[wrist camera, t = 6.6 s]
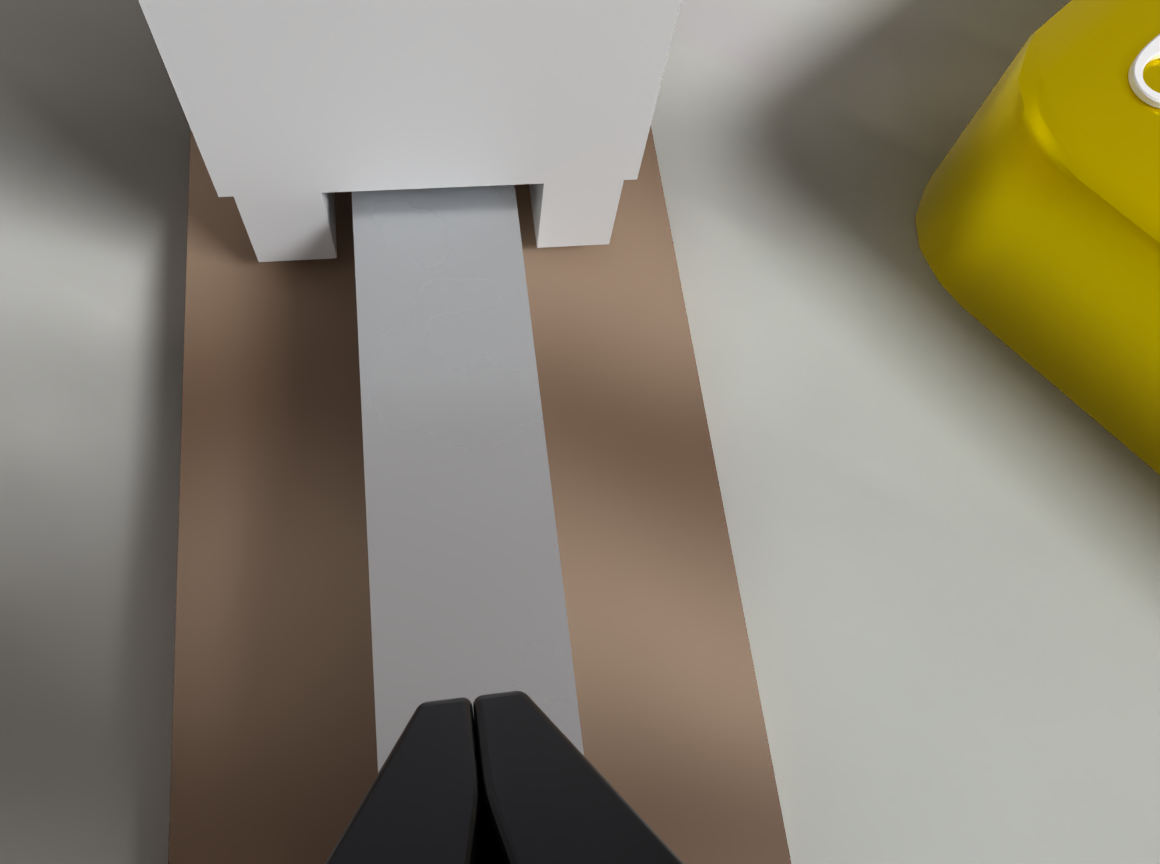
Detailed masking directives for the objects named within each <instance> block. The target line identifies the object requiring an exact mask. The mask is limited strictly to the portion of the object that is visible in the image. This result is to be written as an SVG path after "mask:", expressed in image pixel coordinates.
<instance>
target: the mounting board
mask: <svg viewBox="0 0 1160 864" xmlns="http://www.w3.org/2000/svg"><path fill="white" fill-rule="evenodd" d="M515 192H516V201H517V209H518V217H519V225H520V233H521V242H522V250H523V258H524V266H525V274H526V283H527V291H528V299H529V307H530V316H531V324H532V332H533V340H534V348H535V357H536V365H537V373H538V381H539V389H540V398H541V406H542V414H543V422H544V431H545V439H546V447H547V455H548V463H549V472H550V480H551V488H552V496H553V504H554V513H555V521H556V529H557V537H558V546H559V554H560V562H561V570H562V578H563V587H564V595H565V603H566V611H567V619H568V628H569V636H570V644H571V652H572V661H573V669H574V677H575V685H576V693H577V702H578V710H579V718H580V726H581V734H582V743H583V751H584V756H585V758H586V759H587V760H588V761H589V762H590V763H591V764H592V765H593V766H594V767H595V768H596V769H597V770H598V772H599V773H600V774H601V775H602V776H603V777H604V778H605V779H606V780H607V781H608V782H609V783H610V784H611V786H612V787H613V788H614V789H615V790H616V791H617V792H618V793H619V794H620V795H621V796H622V797H623V798H624V800H625V801H626V802H627V803H628V804H629V805H630V806H631V807H632V808H633V809H634V810H635V811H636V812H637V814H638V815H639V816H640V817H641V818H642V819H643V820H644V821H645V822H646V823H647V824H648V825H649V826H650V828H651V829H652V830H653V831H654V832H655V833H656V834H657V835H658V836H659V837H660V838H661V839H662V840H663V842H664V843H665V844H666V845H667V846H668V847H669V848H670V849H671V850H672V851H673V852H674V853H675V854H676V856H677V857H678V858H679V859H680V860H681V861H682V862H683V863H684V864H791V860H790V854H789V849H788V844H787V839H786V833H785V828H784V823H783V818H782V812H781V807H780V802H779V797H778V791H777V786H776V781H775V776H774V770H773V765H772V760H771V755H770V749H769V744H768V739H767V734H766V728H765V723H764V718H763V713H762V707H761V702H760V697H759V692H758V686H757V681H756V676H755V671H754V665H753V660H752V655H751V650H750V644H749V639H748V634H747V629H746V624H745V618H744V613H743V608H742V603H741V597H740V592H739V587H738V582H737V576H736V571H735V566H734V561H733V555H732V550H731V545H730V540H729V534H728V529H727V524H726V519H725V513H724V508H723V503H722V498H721V492H720V487H719V482H718V477H717V471H716V466H715V461H714V456H713V450H712V445H711V440H710V435H709V429H708V424H707V419H706V414H705V408H704V403H703V398H702V393H701V387H700V382H699V377H698V372H697V366H696V361H695V356H694V351H693V345H692V340H691V335H690V330H689V324H688V319H687V314H686V309H685V303H684V298H683V293H682V288H681V282H680V277H679V272H678V267H677V261H676V256H675V251H674V246H673V240H672V235H671V230H670V225H669V219H668V214H667V209H666V204H665V198H664V193H663V188H662V183H661V177H660V172H659V167H658V162H657V156H656V151H655V146H654V141H653V135H652V130H651V126H650V130H649V134H648V138H647V142H646V146H645V150H644V154H643V158H642V162H641V166H640V170H639V174H638V178H637V180H624V182H623V186H622V191H621V195H620V199H619V204H618V208H617V212H616V217H615V221H614V225H613V230H612V234H611V238H610V243H609V244H603V245H584V246H564V247H545V248H537V244H536V236H535V228H534V220H533V213H532V205H531V197H530V189H529V184H519V185H515ZM334 194H335V221H336V247H337V258H332V259H312V260H293V261H273V262H258V259H257V256H256V254H255V251H254V249H253V246H252V243H251V241H250V238H249V236H248V233H247V230H246V228H245V225H244V223H243V220H242V217H241V215H240V212H239V210H238V207H237V204H236V202H235V199H234V197H218V194H217V192H216V189H215V187H214V185H213V182H212V180H211V177H210V175H209V172H208V170H207V167H206V165H205V162H204V160H203V158H202V155H201V153H200V150H199V148H198V145H197V143H196V140H195V138H194V136H193V133H192V131H191V130H190V163H189V196H188V229H187V262H186V295H185V328H184V361H183V394H182V427H181V460H180V493H179V526H178V559H177V592H176V625H175V658H174V691H173V724H172V757H171V790H170V823H169V856H168V864H325V862H326V861H327V859H328V857H329V856H330V854H331V852H332V850H333V849H334V847H335V845H336V844H337V842H338V840H339V839H340V837H341V835H342V834H343V832H344V830H345V828H346V827H347V825H348V823H349V822H350V820H351V818H352V817H353V815H354V813H355V812H356V810H357V808H358V807H359V805H360V803H361V801H362V800H363V798H364V796H365V795H366V793H367V791H368V790H369V788H370V786H371V785H372V783H373V781H374V779H375V778H376V776H377V774H378V762H377V740H376V718H375V696H374V674H373V652H372V630H371V608H370V586H369V564H368V542H367V520H366V498H365V476H364V454H363V432H362V410H361V388H360V366H359V344H358V322H357V300H356V278H355V256H354V234H353V212H352V192H334Z"/></svg>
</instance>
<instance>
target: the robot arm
mask: <svg viewBox="0 0 1160 864" xmlns="http://www.w3.org/2000/svg"><path fill="white" fill-rule="evenodd" d="M473 714H474V716H473ZM325 864H684V863H683V862H682V861H681V860H680V859H679V858H678V857H677V856H676V854H675V853H674V852H673V851H672V850H671V849H670V848H669V847H668V846H667V845H666V844H665V843H664V842H663V840H662V839H661V838H660V837H659V836H658V835H657V834H656V833H655V832H654V831H653V830H652V829H651V828H650V826H649V825H648V824H647V823H646V822H645V821H644V820H643V819H642V818H641V817H640V816H639V815H638V814H637V812H636V811H635V810H634V809H633V808H632V807H631V806H630V805H629V804H628V803H627V802H626V801H625V800H624V798H623V797H622V796H621V795H620V794H619V793H618V792H617V791H616V790H615V789H614V788H613V787H612V786H611V784H610V783H609V782H608V781H607V780H606V779H605V778H604V777H603V776H602V775H601V774H600V773H599V772H598V770H597V769H596V768H595V767H594V766H593V765H592V764H591V763H590V762H589V761H588V760H587V759H586V758H585V756H584V755H583V754H582V753H581V752H580V751H579V750H578V749H577V748H576V747H575V746H574V745H573V744H572V742H571V741H570V740H569V739H568V738H567V737H566V736H565V735H564V734H563V733H562V732H561V731H560V730H559V728H558V727H557V726H556V725H555V724H554V723H553V722H552V721H551V720H550V719H549V718H548V717H547V716H546V714H545V713H544V712H543V711H542V710H541V709H540V708H539V707H538V706H537V705H536V704H535V703H534V702H533V700H532V699H531V698H530V697H529V696H528V695H527V694H526V693H524V692H522V691H510V692H501V693H493V694H485V695H480V696H478V697H477V698H475V700H474V702H473V707H472V703H471V701H470V700H469V699H467V698H465V697H460V698H452V699H444V700H435V701H427V702H424V703H422V704H420V705H419V706H418V707H417V709H416V710H415V712H414V714H413V715H412V717H411V719H410V720H409V722H408V724H407V725H406V727H405V729H404V731H403V732H402V734H401V736H400V737H399V739H398V741H397V742H396V744H395V746H394V747H393V749H392V751H391V752H390V754H389V756H388V758H387V759H386V761H385V763H384V764H383V766H382V768H381V769H380V771H379V773H378V774H377V776H376V778H375V779H374V781H373V783H372V785H371V786H370V788H369V790H368V791H367V793H366V795H365V796H364V798H363V800H362V801H361V803H360V805H359V807H358V808H357V810H356V812H355V813H354V815H353V817H352V818H351V820H350V822H349V823H348V825H347V827H346V828H345V830H344V832H343V834H342V835H341V837H340V839H339V840H338V842H337V844H336V845H335V847H334V849H333V850H332V852H331V854H330V856H329V857H328V859H327V861H326V862H325Z"/></svg>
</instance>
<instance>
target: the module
mask: <svg viewBox="0 0 1160 864" xmlns="http://www.w3.org/2000/svg"><path fill="white" fill-rule="evenodd" d="M138 1H139V3H140V6H141V8H142V11H143V13H144V16H145V18H146V20H147V23H148V25H149V28H150V30H151V33H152V35H153V38H154V40H155V43H156V45H157V47H158V50H159V52H160V55H161V57H162V60H163V62H164V65H165V67H166V69H167V72H168V74H169V77H170V79H171V82H172V84H173V87H174V89H175V91H176V94H177V96H178V99H179V101H180V104H181V106H182V109H183V111H184V114H185V116H186V118H187V121H188V123H189V126H190V128H191V131H192V133H193V136H194V138H195V140H196V143H197V145H198V148H199V150H200V153H201V155H202V158H203V160H204V162H205V165H206V167H207V170H208V172H209V175H210V177H211V180H212V182H213V185H214V187H215V189H216V192H217V194H218V197H234V199H235V202H236V204H237V207H238V210H239V212H240V215H241V217H242V220H243V223H244V225H245V228H246V230H247V233H248V236H249V238H250V241H251V243H252V246H253V249H254V251H255V254H256V256H257V259H258V262H273V261H293V260H312V259H332V258H337V247H336V221H335V194H334V192H352V191H376V190H400V189H424V188H448V187H471V186H495V185H519V184H529V189H530V197H531V205H532V213H533V220H534V228H535V236H536V244H537V248H545V247H564V246H584V245H603V244H609V243H610V238H611V234H612V230H613V225H614V221H615V217H616V212H617V208H618V204H619V199H620V195H621V191H622V186H623V182H624V180H637V178H638V174H639V170H640V166H641V162H642V158H643V154H644V150H645V146H646V142H647V138H648V134H649V130H650V126H651V122H652V118H653V114H654V110H655V106H656V102H657V98H658V94H659V90H660V86H661V82H662V78H663V74H664V70H665V66H666V62H667V58H668V54H669V50H670V46H671V42H672V38H673V34H674V30H675V26H676V22H677V18H678V14H679V10H680V6H681V2H682V0H138Z"/></svg>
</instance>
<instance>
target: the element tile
mask: <svg viewBox="0 0 1160 864" xmlns="http://www.w3.org/2000/svg"><path fill="white" fill-rule="evenodd" d="M915 220H916V227H917V233H918V240H919V247H920V250H921V252H922V254H923V255H924V257H925V259H926V260H927V262H928V264H929V266H930V267H931V269H932V271H933V272H934V274H935V276H936V278H937V279H938V281H939V282H940V284H941V285H942V286H943V287H944V288H945V289H946V290H947V291H948V292H949V293H950V295H951V296H952V297H953V298H954V299H955V300H956V301H957V302H958V303H959V305H960V306H962V307H963V308H964V309H965V310H966V311H967V312H969V313H970V314H971V315H972V316H973V317H974V318H976V319H977V320H978V321H979V322H980V323H982V324H983V325H984V326H985V327H986V328H987V329H989V330H990V331H991V332H992V333H993V334H994V335H996V336H997V337H998V338H999V339H1000V340H1002V341H1003V342H1004V343H1005V344H1006V345H1007V346H1009V347H1010V348H1011V349H1012V350H1013V351H1014V352H1016V353H1017V354H1018V355H1019V356H1020V357H1022V358H1023V359H1024V360H1025V361H1026V362H1027V363H1029V364H1030V365H1031V366H1032V367H1033V368H1034V369H1036V370H1037V371H1038V372H1039V373H1040V374H1042V375H1043V376H1044V377H1045V378H1046V379H1047V380H1049V381H1050V382H1051V383H1052V384H1053V385H1055V386H1056V387H1057V388H1058V389H1059V390H1060V391H1062V392H1063V393H1064V394H1065V395H1066V396H1067V397H1069V398H1070V399H1071V400H1072V401H1073V402H1075V403H1076V404H1077V405H1078V406H1079V407H1080V408H1082V409H1083V410H1084V411H1085V412H1086V413H1087V414H1089V415H1090V416H1091V417H1092V418H1093V419H1095V420H1096V421H1097V422H1098V423H1099V424H1100V425H1102V426H1103V427H1104V428H1105V429H1106V430H1107V431H1109V432H1110V433H1111V434H1112V435H1113V436H1115V437H1116V438H1117V439H1118V440H1119V441H1120V442H1122V443H1123V444H1124V445H1125V446H1126V447H1127V448H1129V449H1130V450H1131V451H1132V452H1133V453H1135V454H1136V455H1137V456H1138V457H1139V458H1140V459H1142V460H1143V461H1144V462H1145V463H1146V464H1148V465H1149V466H1150V467H1151V468H1152V469H1153V470H1155V471H1156V472H1157V473H1158V474H1159V475H1160V0H1071V1H1070V2H1069V3H1068V4H1066V5H1065V6H1064V7H1063V8H1062V9H1061V10H1059V11H1058V12H1057V13H1056V14H1055V15H1054V16H1053V17H1051V18H1050V19H1049V20H1048V21H1047V22H1046V23H1044V24H1043V25H1042V26H1041V27H1040V28H1039V29H1037V30H1036V31H1035V32H1034V33H1033V34H1032V35H1031V36H1030V37H1029V38H1028V40H1027V41H1026V43H1025V44H1024V45H1023V47H1022V48H1021V50H1020V51H1019V53H1018V54H1017V55H1016V57H1015V58H1014V60H1013V61H1012V63H1011V64H1010V65H1009V67H1008V68H1007V70H1006V71H1005V73H1004V74H1003V75H1002V77H1001V78H1000V80H999V81H998V83H997V84H996V85H995V87H994V88H993V90H992V91H991V92H990V94H989V95H988V97H987V98H986V100H985V101H984V102H983V104H982V105H981V107H980V108H979V110H978V111H977V112H976V114H975V115H974V117H973V118H972V120H971V121H970V122H969V124H968V125H967V127H966V128H965V130H964V131H963V132H962V134H961V135H960V137H959V138H958V140H957V141H956V142H955V144H954V145H953V147H952V148H951V150H950V151H949V152H948V154H947V155H946V157H945V158H944V159H943V161H942V162H941V164H940V165H939V167H938V168H937V169H936V171H935V172H934V174H933V175H932V177H931V179H930V180H929V182H928V184H927V185H926V187H925V189H924V192H923V195H922V198H921V201H920V204H919V207H918V211H917V214H916V217H915Z"/></svg>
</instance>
